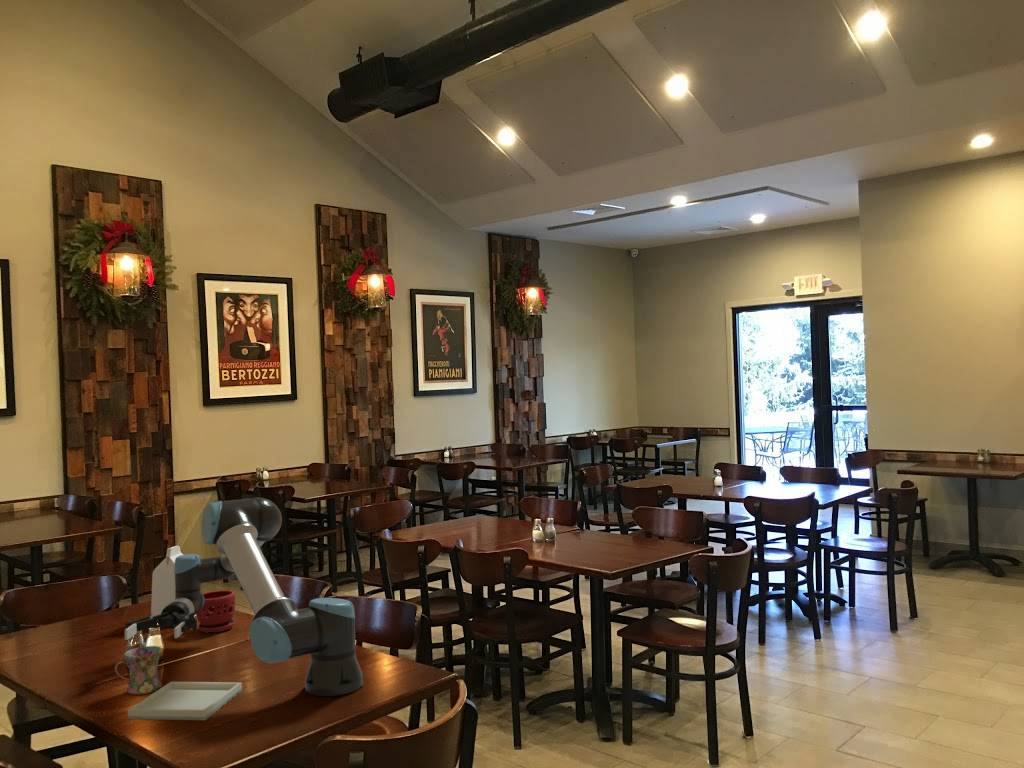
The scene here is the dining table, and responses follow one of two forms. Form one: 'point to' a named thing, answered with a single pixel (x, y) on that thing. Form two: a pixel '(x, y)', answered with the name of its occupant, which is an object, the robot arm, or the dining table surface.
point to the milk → (164, 582)
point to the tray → (185, 701)
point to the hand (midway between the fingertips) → (150, 634)
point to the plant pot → (217, 611)
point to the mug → (142, 669)
